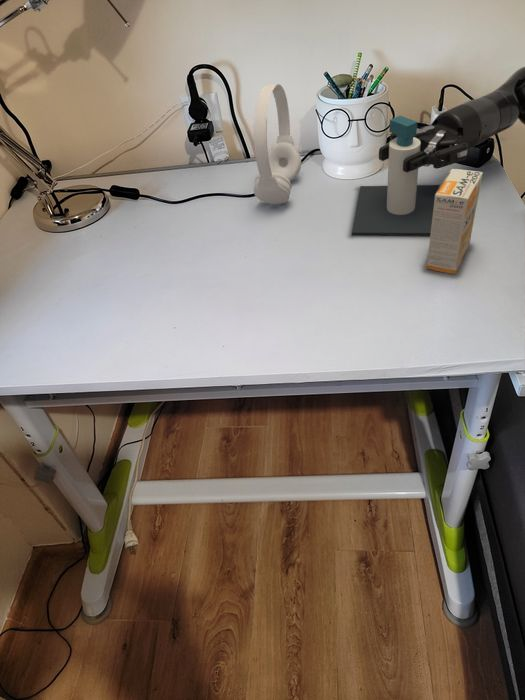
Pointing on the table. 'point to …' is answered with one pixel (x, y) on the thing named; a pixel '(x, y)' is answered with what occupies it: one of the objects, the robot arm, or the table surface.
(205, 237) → the table surface
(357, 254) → the table surface
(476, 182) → the supplement box
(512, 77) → the robot arm
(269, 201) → the headphones
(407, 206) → the spray bottle
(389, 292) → the table surface
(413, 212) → the mat
